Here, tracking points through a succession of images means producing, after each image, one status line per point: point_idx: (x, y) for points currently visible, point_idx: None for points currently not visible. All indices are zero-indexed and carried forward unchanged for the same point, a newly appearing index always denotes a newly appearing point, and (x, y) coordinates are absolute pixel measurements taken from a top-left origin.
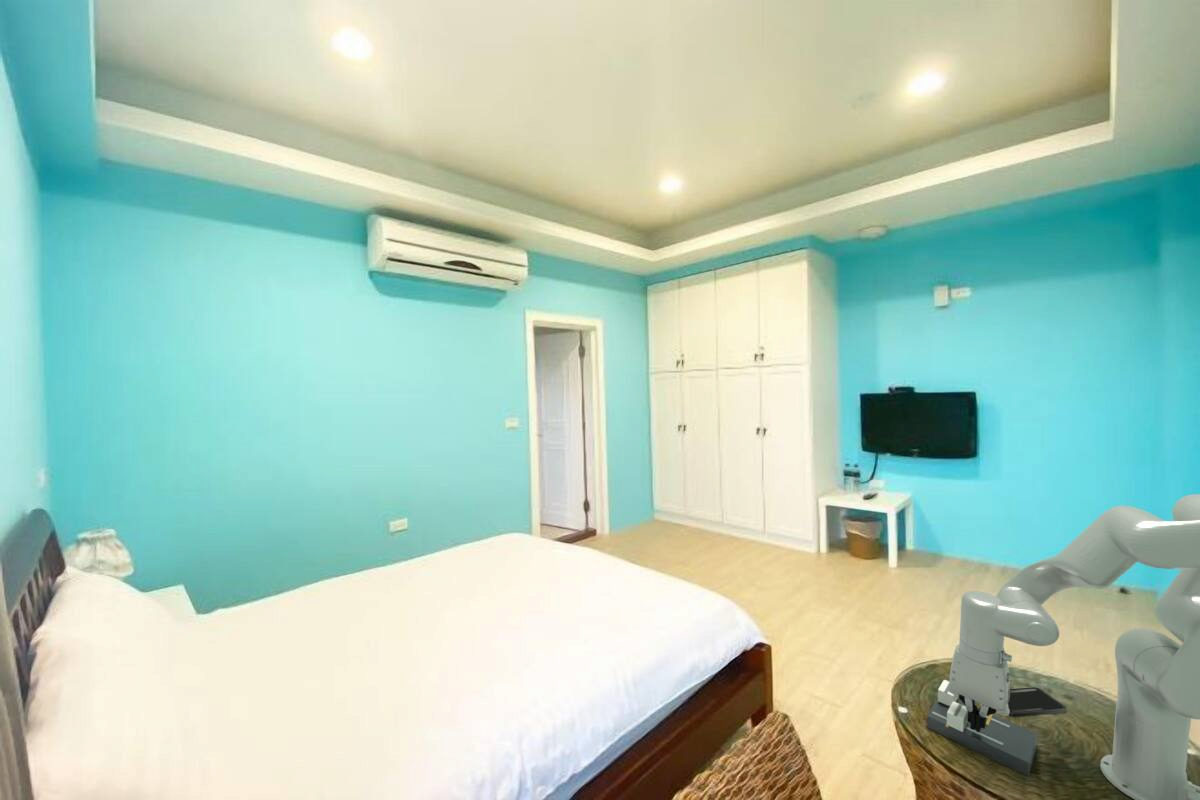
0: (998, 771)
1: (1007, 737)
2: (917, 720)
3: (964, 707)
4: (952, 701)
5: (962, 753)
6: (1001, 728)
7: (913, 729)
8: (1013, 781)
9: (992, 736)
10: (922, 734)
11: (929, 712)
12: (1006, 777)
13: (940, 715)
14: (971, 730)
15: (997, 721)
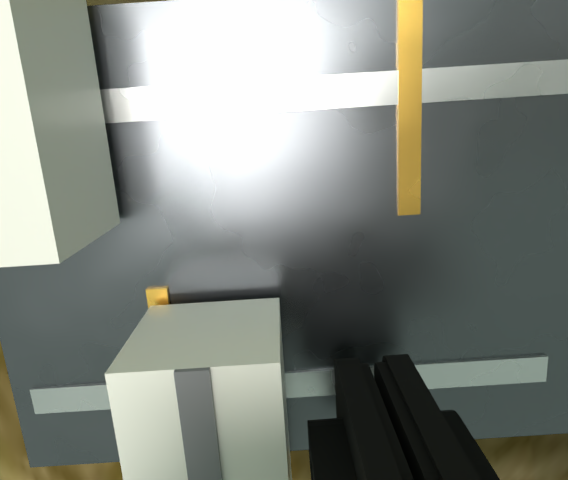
0: (487, 447)
1: (566, 251)
2: (5, 377)
3: (240, 391)
4: (89, 239)
5: (307, 456)
6: (513, 159)
7: (34, 473)
8: (559, 461)
9: (468, 333)
10: (89, 474)
11: (21, 417)
12: (526, 459)
13: (95, 391)
14: (330, 392)
15: (476, 85)
